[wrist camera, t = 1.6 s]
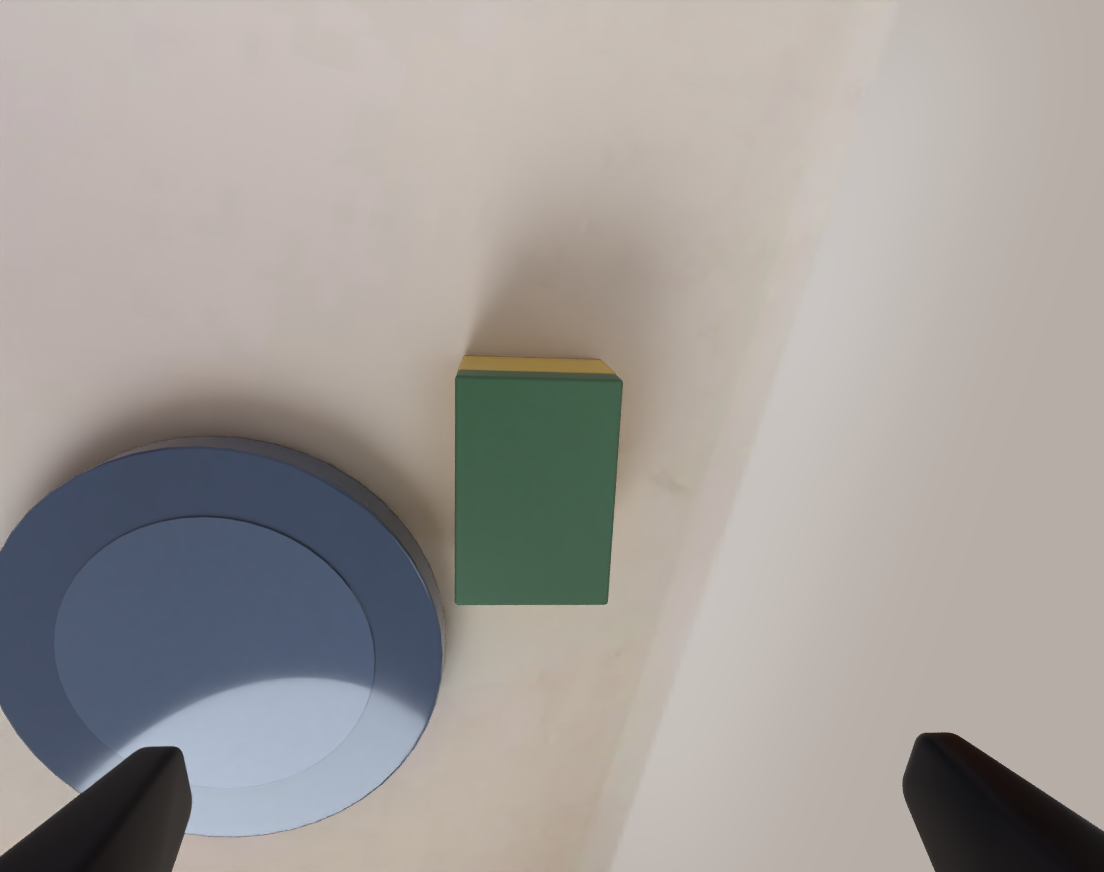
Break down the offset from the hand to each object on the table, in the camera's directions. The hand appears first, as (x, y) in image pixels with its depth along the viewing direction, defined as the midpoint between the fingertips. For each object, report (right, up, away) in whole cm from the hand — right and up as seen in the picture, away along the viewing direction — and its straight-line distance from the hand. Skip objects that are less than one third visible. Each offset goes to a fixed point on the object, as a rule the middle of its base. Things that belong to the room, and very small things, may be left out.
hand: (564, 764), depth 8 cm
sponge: (-1, +3, +12) cm, 12 cm away
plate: (-10, -2, +12) cm, 16 cm away
